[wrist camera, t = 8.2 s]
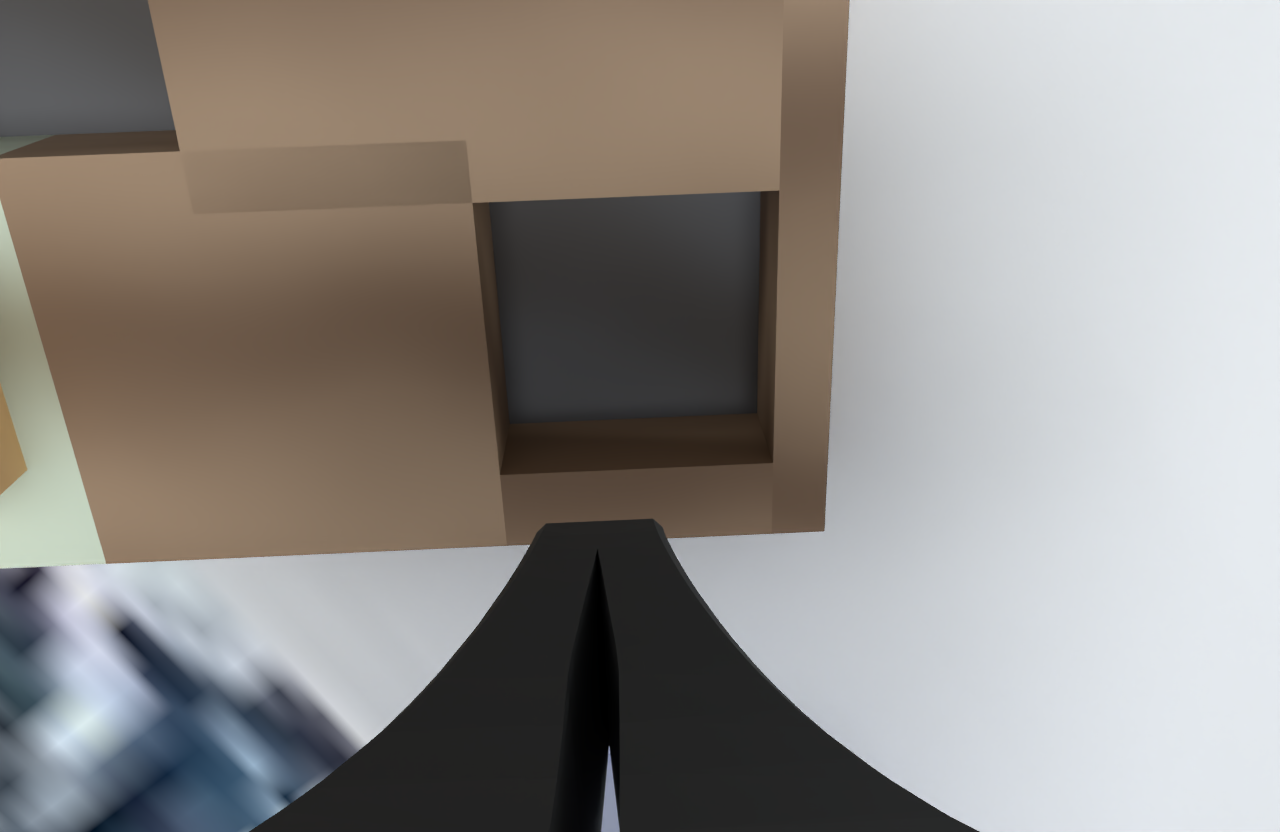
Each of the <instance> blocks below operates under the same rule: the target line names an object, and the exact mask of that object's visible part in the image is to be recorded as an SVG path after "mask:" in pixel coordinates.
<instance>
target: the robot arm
mask: <svg viewBox="0 0 1280 832" xmlns="http://www.w3.org/2000/svg"><path fill="white" fill-rule="evenodd" d="M249 832H979V831H977V830H975V829H973V828H971V827H969V826H967V825H965V824H963V823H961V822H960V821H958V820H956V819H954V818H952V817H950V816H948V815H946V814H945V813H943V812H941V811H939V810H938V809H936V808H935V807H933V806H931V805H930V804H928V803H926V802H925V801H923V800H922V799H920V798H918V797H917V796H915V795H914V794H912V793H910V792H909V791H907V790H906V789H904V788H902V787H901V786H899V785H898V784H896V783H894V782H893V781H891V780H890V779H888V778H887V777H885V776H884V775H882V774H881V773H879V772H878V771H877V770H875V769H874V768H872V767H871V766H870V765H868V764H867V763H866V762H864V761H863V760H862V759H860V758H859V757H858V756H856V755H855V754H854V753H852V752H851V751H850V750H848V749H847V748H846V747H844V746H843V745H842V744H840V743H839V742H838V741H836V740H835V739H834V738H832V737H831V736H830V735H828V734H827V733H826V732H825V731H824V730H822V729H821V728H820V727H819V726H818V725H817V724H815V723H814V722H813V721H812V720H811V719H810V718H809V717H807V716H806V715H805V714H804V713H803V712H802V711H801V710H800V709H799V708H798V707H796V706H795V705H794V704H793V703H792V702H791V701H790V700H789V699H788V698H787V697H786V696H785V695H784V694H783V693H782V692H781V691H780V690H779V689H778V688H777V687H776V686H775V685H774V684H773V683H772V682H771V681H770V680H769V679H768V678H767V677H766V676H765V675H764V674H763V673H762V672H761V671H760V669H759V668H758V667H757V666H756V665H755V664H754V663H753V662H752V661H751V659H750V658H749V657H748V656H747V655H746V654H745V652H744V651H743V650H742V649H741V648H740V647H739V645H738V644H737V643H736V642H735V641H734V640H733V638H732V637H731V636H730V635H729V633H728V632H727V631H726V630H725V628H724V627H723V626H722V624H721V623H720V622H719V621H718V619H717V618H716V616H715V615H714V614H713V612H712V611H711V610H710V608H709V607H708V605H707V604H706V603H705V601H704V600H703V598H702V597H701V596H700V594H699V593H698V591H697V590H696V588H695V587H694V585H693V584H692V582H691V581H690V579H689V578H688V576H687V574H686V573H685V571H684V569H683V568H682V566H681V564H680V563H679V561H678V559H677V558H676V556H675V554H674V552H673V550H672V548H671V546H670V544H669V542H668V540H667V537H666V535H665V533H664V529H663V527H662V526H661V525H660V524H659V523H657V522H656V521H655V520H654V519H632V520H610V521H588V522H565V523H546V524H545V525H544V526H543V527H542V528H541V529H540V530H539V531H538V532H537V533H536V535H535V537H534V539H533V541H532V543H531V545H530V547H529V548H528V550H527V552H526V554H525V555H524V557H523V559H522V561H521V562H520V564H519V565H518V567H517V569H516V570H515V572H514V573H513V575H512V577H511V578H510V580H509V581H508V583H507V584H506V586H505V587H504V589H503V590H502V592H501V593H500V595H499V596H498V597H497V599H496V600H495V602H494V603H493V604H492V606H491V607H490V609H489V610H488V612H487V613H486V614H485V616H484V617H483V619H482V620H481V621H480V623H479V624H478V625H477V627H476V628H475V629H474V631H473V632H472V633H471V634H470V636H469V637H468V638H467V639H466V641H465V642H464V643H463V644H462V645H461V647H460V648H459V649H458V650H457V652H456V653H455V654H454V655H453V656H452V658H451V659H450V660H449V661H448V662H447V664H446V665H445V666H444V667H443V669H442V670H441V671H440V672H439V673H438V674H437V676H436V677H435V678H434V679H433V680H432V681H431V682H430V683H429V684H428V685H427V686H426V688H425V689H424V690H423V691H422V692H421V693H420V694H419V695H418V696H417V697H416V698H415V699H414V700H413V701H412V702H411V703H410V704H409V705H408V706H407V707H406V708H405V709H404V710H403V711H402V712H401V713H400V714H399V715H398V716H397V717H396V718H395V719H394V720H393V721H392V722H391V723H390V724H389V725H388V726H387V727H386V728H385V729H384V730H383V731H382V732H381V733H379V734H378V735H377V736H376V737H375V738H374V739H373V740H371V741H370V742H369V743H368V744H367V745H365V746H364V747H363V748H362V749H360V750H359V751H358V752H357V753H356V754H354V755H353V756H352V757H351V758H349V759H348V760H347V761H346V762H345V763H343V764H342V765H341V766H340V767H339V768H337V769H336V770H335V771H334V772H332V773H331V774H330V775H329V776H328V777H326V778H325V779H324V780H323V781H321V782H320V783H319V784H317V785H316V786H315V787H313V788H312V789H311V790H309V791H308V792H306V793H305V794H304V795H302V796H301V797H299V798H298V799H297V800H295V801H294V802H292V803H291V804H290V805H288V806H287V807H285V808H284V809H283V810H281V811H280V812H278V813H277V814H275V815H274V816H272V817H271V818H269V819H268V820H266V821H265V822H263V823H262V824H260V825H259V826H257V827H255V828H254V829H252V830H251V831H249Z"/></svg>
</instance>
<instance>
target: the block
mask: <svg viewBox="0 0 1280 832" xmlns="http://www.w3.org/2000/svg"><path fill="white" fill-rule="evenodd" d="M26 471H27V467H26V463H25V460H24V457H23V454H22V451H21V447H20V444H19V441H18V438H17V435H16V432H15V428H14V425H13V422H12V419H11V416H10V412H9V409H8V406H7V403H6V400H5V396H4V393H3V390H2V387H1V384H0V495H1V494H2V493H3V492H4V491H5V490H6V489H7V488H8V487H10V486H11V485H12V484H13V483H14V482H15V481H16V480H17V479H18V478H19V477H20V476H21V475H22V474H24V473H25V472H26Z"/></svg>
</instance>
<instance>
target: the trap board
mask: <svg viewBox="0 0 1280 832" xmlns="http://www.w3.org/2000/svg"><path fill="white" fill-rule="evenodd" d="M848 19H849V0H0V384H1V387H2V390H3V393H4V396H5V400H6V403H7V406H8V409H9V412H10V416H11V419H12V422H13V425H14V428H15V432H16V435H17V438H18V441H19V444H20V447H21V451H22V454H23V457H24V460H25V463H26V467H27V471H26V472H25V473H24V474H22V475H21V476H20V477H19V478H18V479H17V480H16V481H15V482H14V483H13V484H12V485H11V486H10V487H8V488H7V489H6V490H5V491H4V492H3V493H2V494H1V495H0V568H22V567H44V566H66V565H89V564H111V563H133V562H155V561H177V560H199V559H221V558H243V557H265V556H287V555H310V554H332V553H354V552H376V551H398V550H420V549H442V548H464V547H486V546H509V545H531V543H532V541H533V539H534V537H535V535H536V533H537V532H538V531H539V530H540V529H541V528H542V527H543V526H544V525H545V524H546V523H565V522H588V521H610V520H632V519H654V520H655V521H656V522H657V523H659V524H660V525H661V526H662V527H663V529H664V533H665V535H666V537H667V538H685V537H707V536H730V535H752V534H774V533H796V532H818V531H824V528H825V507H826V485H827V464H828V443H829V422H830V401H831V379H832V358H833V337H834V316H835V295H836V273H837V252H838V231H839V210H840V189H841V167H842V146H843V125H844V104H845V83H846V62H847V40H848Z"/></svg>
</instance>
